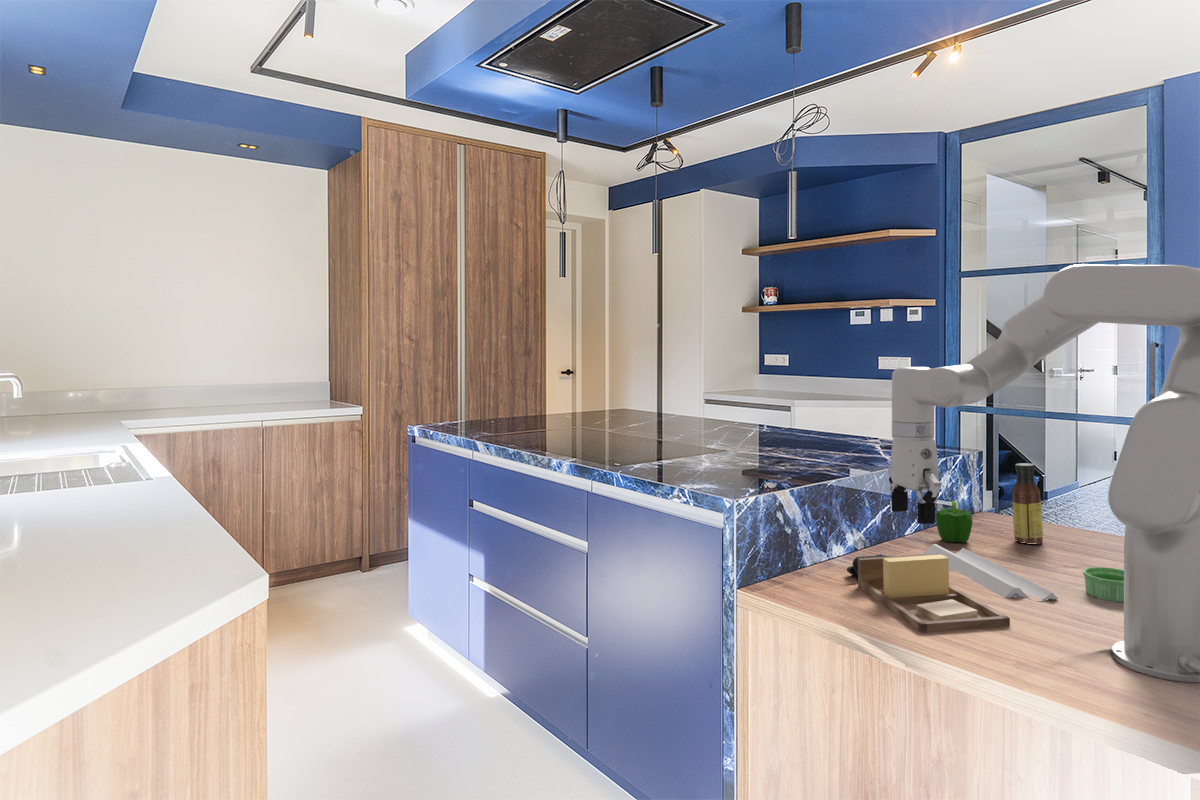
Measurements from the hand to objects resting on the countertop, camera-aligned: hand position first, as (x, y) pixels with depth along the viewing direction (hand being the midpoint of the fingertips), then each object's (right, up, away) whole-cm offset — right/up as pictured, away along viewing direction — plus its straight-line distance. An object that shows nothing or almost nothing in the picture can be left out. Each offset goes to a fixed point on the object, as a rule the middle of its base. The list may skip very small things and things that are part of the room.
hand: (912, 517), depth 133 cm
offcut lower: (+2, -18, -9) cm, 21 cm away
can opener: (+3, -17, +16) cm, 23 cm away
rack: (+1, -17, -3) cm, 18 cm away
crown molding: (+21, -16, +14) cm, 30 cm away
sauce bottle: (+47, -13, +38) cm, 61 cm away
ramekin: (+39, -16, 0) cm, 42 cm away
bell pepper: (+30, -14, +42) cm, 53 cm away
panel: (+1, -17, +1) cm, 17 cm away
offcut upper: (+2, -16, -9) cm, 19 cm away
